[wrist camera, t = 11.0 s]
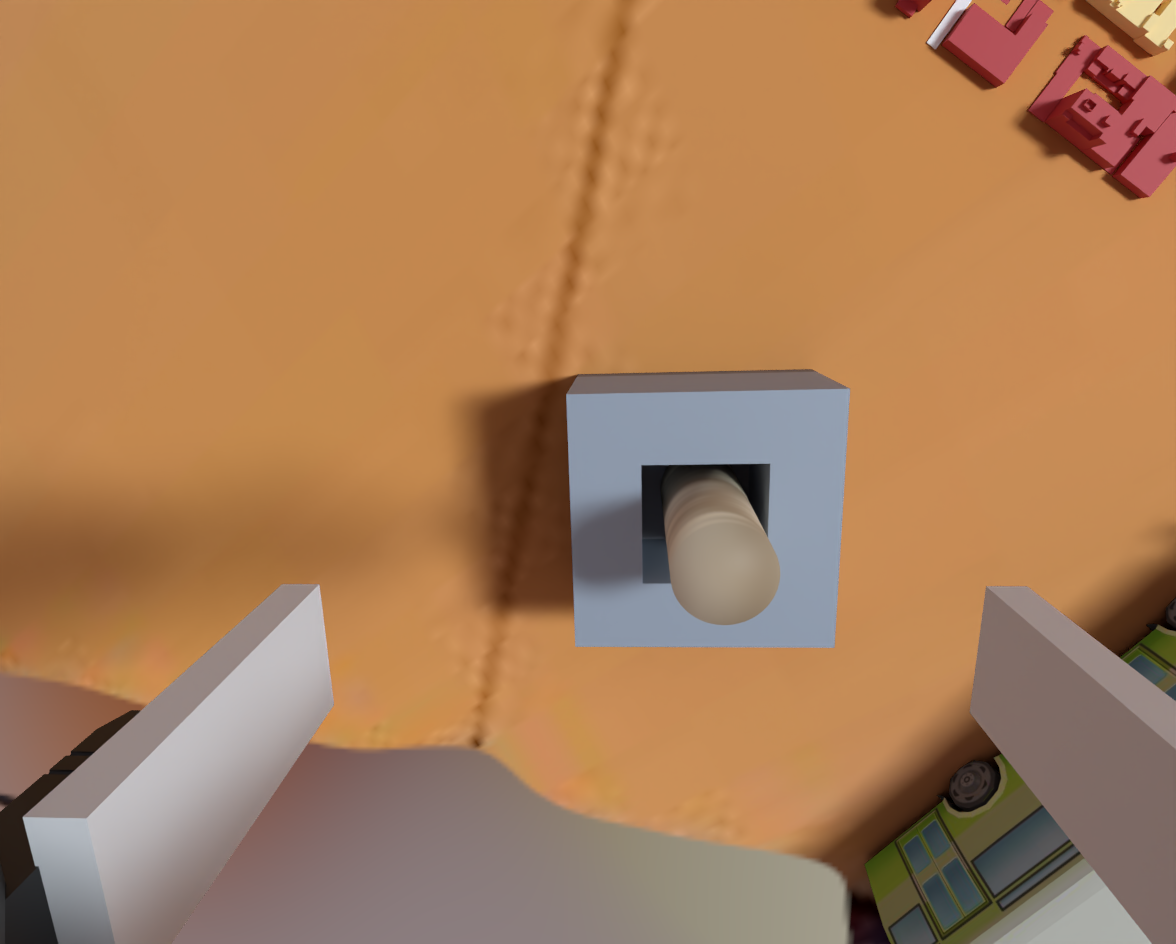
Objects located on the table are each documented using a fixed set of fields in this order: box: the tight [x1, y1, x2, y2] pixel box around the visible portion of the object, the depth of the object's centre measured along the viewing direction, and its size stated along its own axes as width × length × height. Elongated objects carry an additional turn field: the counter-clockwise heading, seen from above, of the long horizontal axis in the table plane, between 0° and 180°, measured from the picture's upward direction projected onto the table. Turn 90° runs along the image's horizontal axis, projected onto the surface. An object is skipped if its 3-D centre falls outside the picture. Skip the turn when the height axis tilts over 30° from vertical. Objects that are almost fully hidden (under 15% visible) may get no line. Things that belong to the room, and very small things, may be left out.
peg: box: [661, 464, 780, 625], centre depth 33 cm, size 4×4×12 cm
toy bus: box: [865, 598, 1176, 944], centre depth 37 cm, size 10×31×10 cm, turn 139°
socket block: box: [566, 369, 850, 648], centre depth 36 cm, size 12×12×7 cm
